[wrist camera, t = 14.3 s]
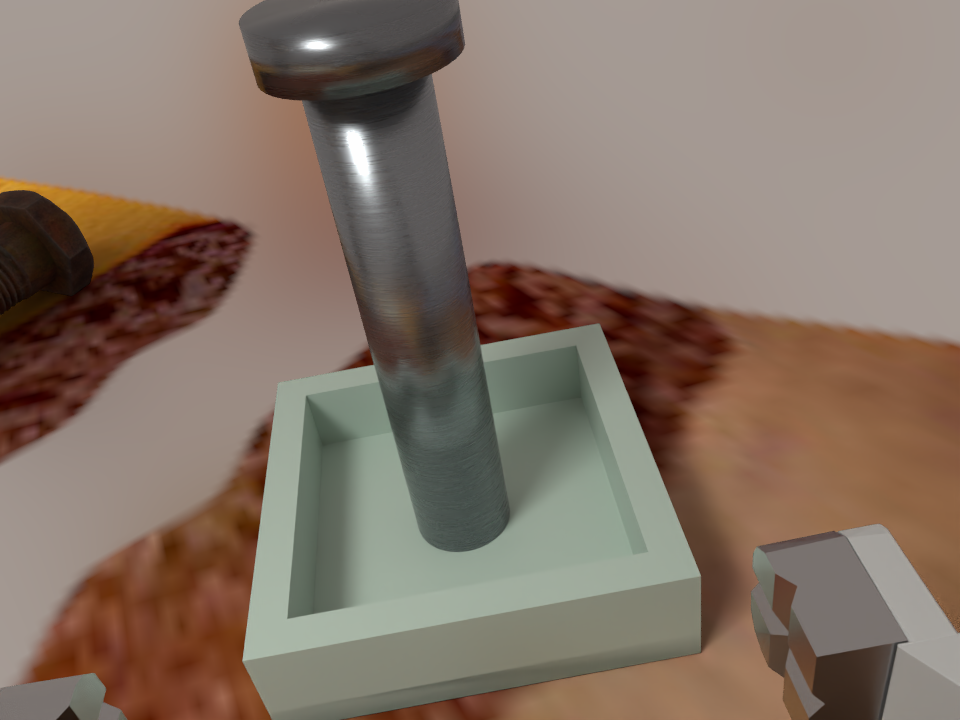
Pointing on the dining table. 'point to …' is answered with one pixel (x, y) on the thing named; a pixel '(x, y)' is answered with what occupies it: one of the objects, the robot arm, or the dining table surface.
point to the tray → (471, 574)
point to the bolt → (39, 249)
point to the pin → (397, 234)
